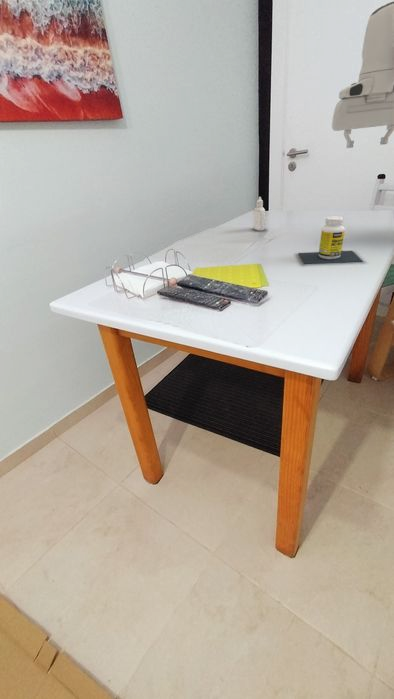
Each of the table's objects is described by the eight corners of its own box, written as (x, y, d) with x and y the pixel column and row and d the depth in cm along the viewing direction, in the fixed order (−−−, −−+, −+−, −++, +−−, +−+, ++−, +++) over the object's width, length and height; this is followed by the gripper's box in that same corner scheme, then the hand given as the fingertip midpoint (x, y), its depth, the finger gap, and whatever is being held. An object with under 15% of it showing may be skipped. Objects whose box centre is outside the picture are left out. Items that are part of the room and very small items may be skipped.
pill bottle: (330, 261, 96) (336, 221, 90) (313, 256, 101) (318, 218, 95) (345, 256, 99) (351, 217, 93) (327, 252, 103) (333, 214, 98)
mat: (351, 251, 103) (352, 250, 103) (362, 261, 95) (362, 261, 95) (298, 253, 105) (298, 253, 105) (304, 264, 97) (304, 263, 97)
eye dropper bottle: (253, 231, 133) (253, 198, 126) (253, 227, 137) (254, 196, 131) (264, 230, 132) (265, 197, 126) (264, 227, 137) (265, 195, 130)
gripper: (411, 82, 92) (399, 141, 99) (333, 92, 94) (328, 149, 102) (422, 79, 87) (409, 142, 94) (339, 90, 89) (333, 150, 97)
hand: (366, 146), depth 98 cm, fingers open, 8 cm apart
